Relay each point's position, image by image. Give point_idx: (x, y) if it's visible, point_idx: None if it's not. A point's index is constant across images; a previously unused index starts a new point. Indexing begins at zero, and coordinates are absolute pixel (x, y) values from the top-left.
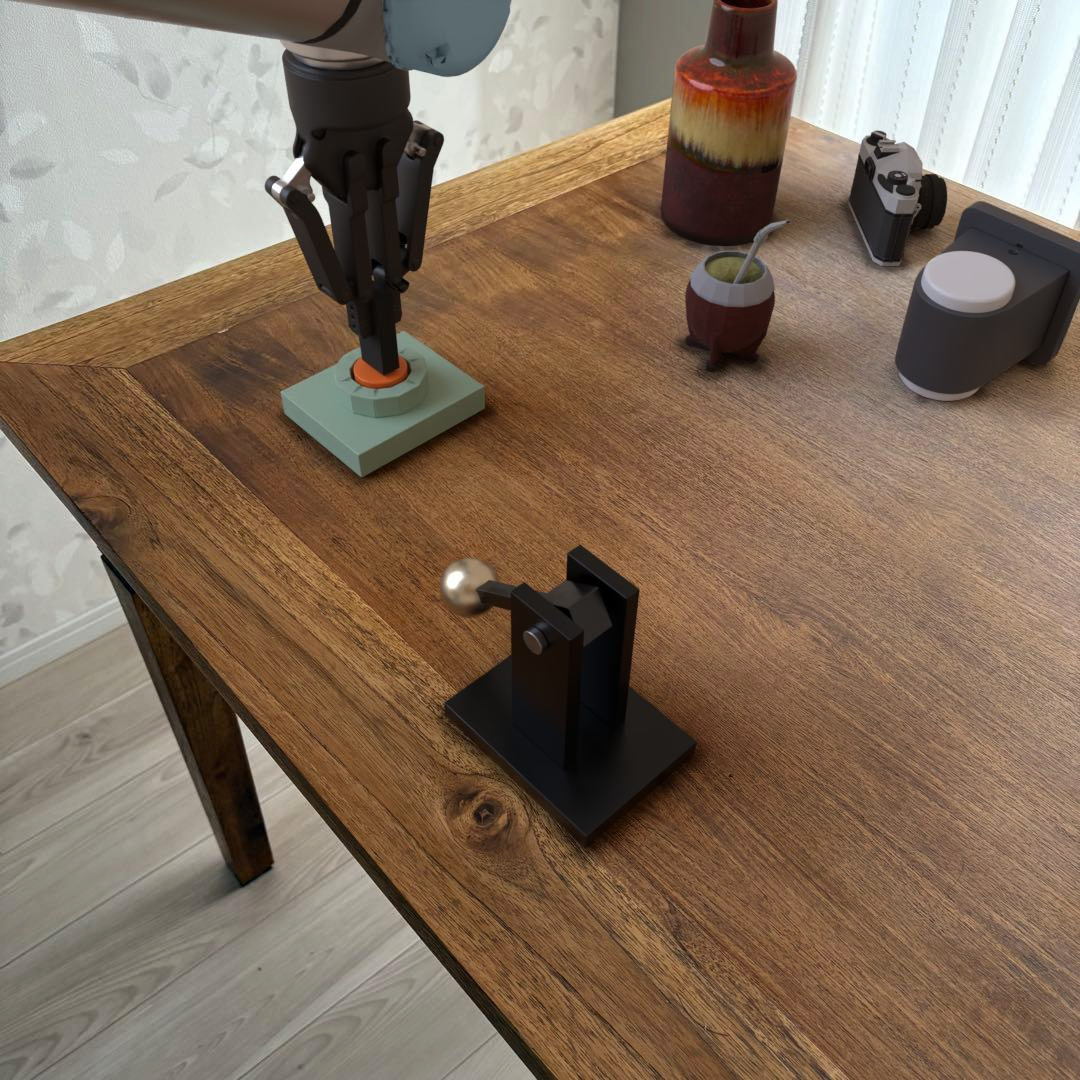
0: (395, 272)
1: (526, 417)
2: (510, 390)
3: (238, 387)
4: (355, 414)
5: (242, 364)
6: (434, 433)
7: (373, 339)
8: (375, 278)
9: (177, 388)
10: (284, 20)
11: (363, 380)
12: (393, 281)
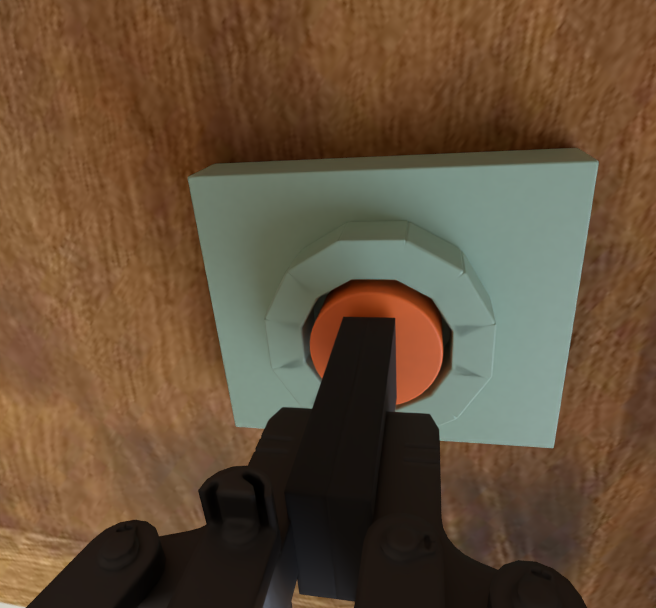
0: (224, 566)
1: (152, 76)
2: (139, 178)
3: (547, 508)
4: (488, 291)
5: (497, 541)
6: (354, 159)
7: (388, 403)
8: (292, 582)
9: (625, 566)
10: None
11: (439, 341)
12: (254, 533)
